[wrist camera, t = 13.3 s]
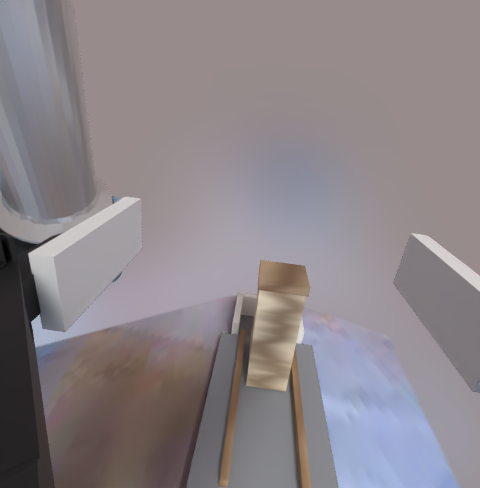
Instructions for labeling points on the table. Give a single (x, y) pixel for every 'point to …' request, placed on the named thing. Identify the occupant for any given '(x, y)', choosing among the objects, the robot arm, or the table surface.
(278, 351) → the tan tall block
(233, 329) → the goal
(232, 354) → the platform
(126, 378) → the table surface
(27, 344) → the robot arm
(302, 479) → the lane rails
